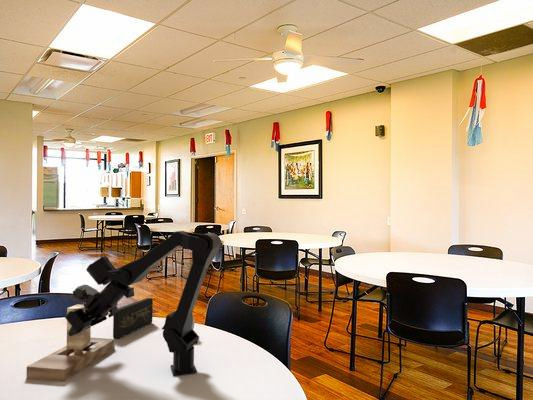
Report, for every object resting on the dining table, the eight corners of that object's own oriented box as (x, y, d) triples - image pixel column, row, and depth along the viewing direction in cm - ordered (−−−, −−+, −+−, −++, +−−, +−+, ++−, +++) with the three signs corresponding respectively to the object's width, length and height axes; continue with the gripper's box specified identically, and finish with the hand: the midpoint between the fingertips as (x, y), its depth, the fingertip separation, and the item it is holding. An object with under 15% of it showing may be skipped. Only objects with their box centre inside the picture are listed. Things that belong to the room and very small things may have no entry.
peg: (81, 361, 115) (81, 309, 115) (65, 360, 116) (66, 308, 116) (91, 354, 120) (91, 304, 120) (76, 353, 121) (76, 304, 121)
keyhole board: (64, 381, 103) (64, 369, 103) (26, 378, 105) (26, 366, 105) (114, 348, 127) (114, 339, 127) (83, 346, 129) (83, 336, 129)
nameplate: (148, 322, 157) (148, 297, 157) (152, 323, 156) (152, 297, 157) (112, 339, 137) (113, 310, 137) (117, 339, 136) (118, 310, 137)
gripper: (109, 271, 127) (76, 304, 128) (72, 282, 108) (34, 321, 110) (132, 297, 126) (99, 330, 127) (98, 312, 107) (60, 351, 109)
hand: (74, 332), depth 118 cm, fingers closed on peg, 5 cm apart
